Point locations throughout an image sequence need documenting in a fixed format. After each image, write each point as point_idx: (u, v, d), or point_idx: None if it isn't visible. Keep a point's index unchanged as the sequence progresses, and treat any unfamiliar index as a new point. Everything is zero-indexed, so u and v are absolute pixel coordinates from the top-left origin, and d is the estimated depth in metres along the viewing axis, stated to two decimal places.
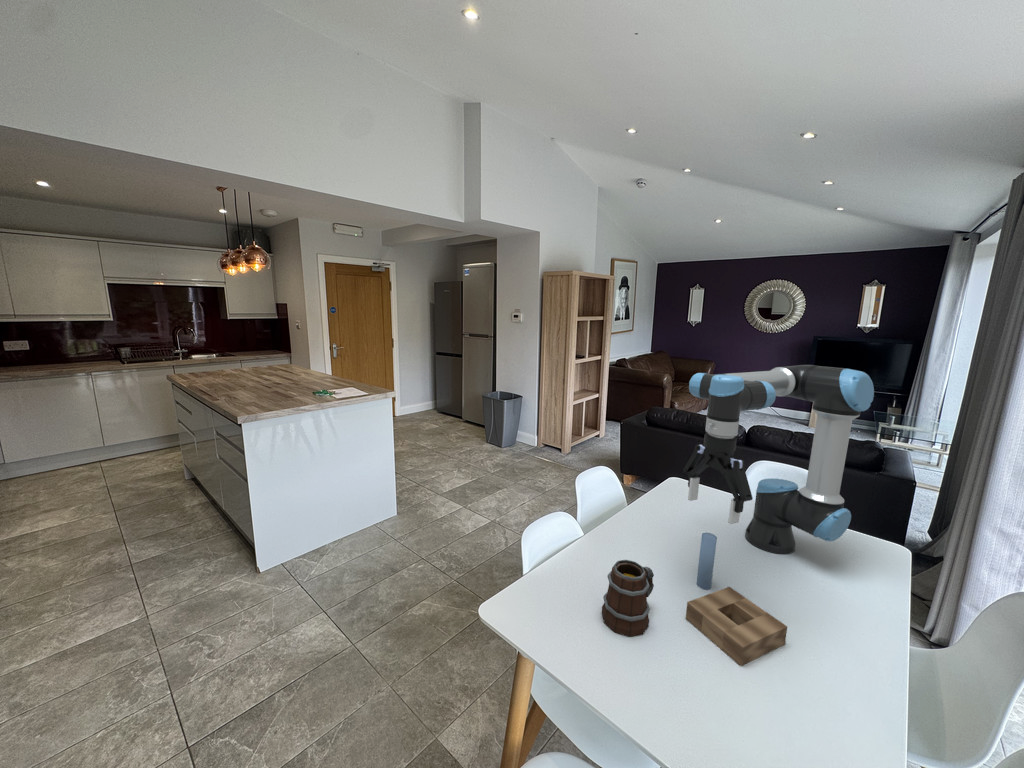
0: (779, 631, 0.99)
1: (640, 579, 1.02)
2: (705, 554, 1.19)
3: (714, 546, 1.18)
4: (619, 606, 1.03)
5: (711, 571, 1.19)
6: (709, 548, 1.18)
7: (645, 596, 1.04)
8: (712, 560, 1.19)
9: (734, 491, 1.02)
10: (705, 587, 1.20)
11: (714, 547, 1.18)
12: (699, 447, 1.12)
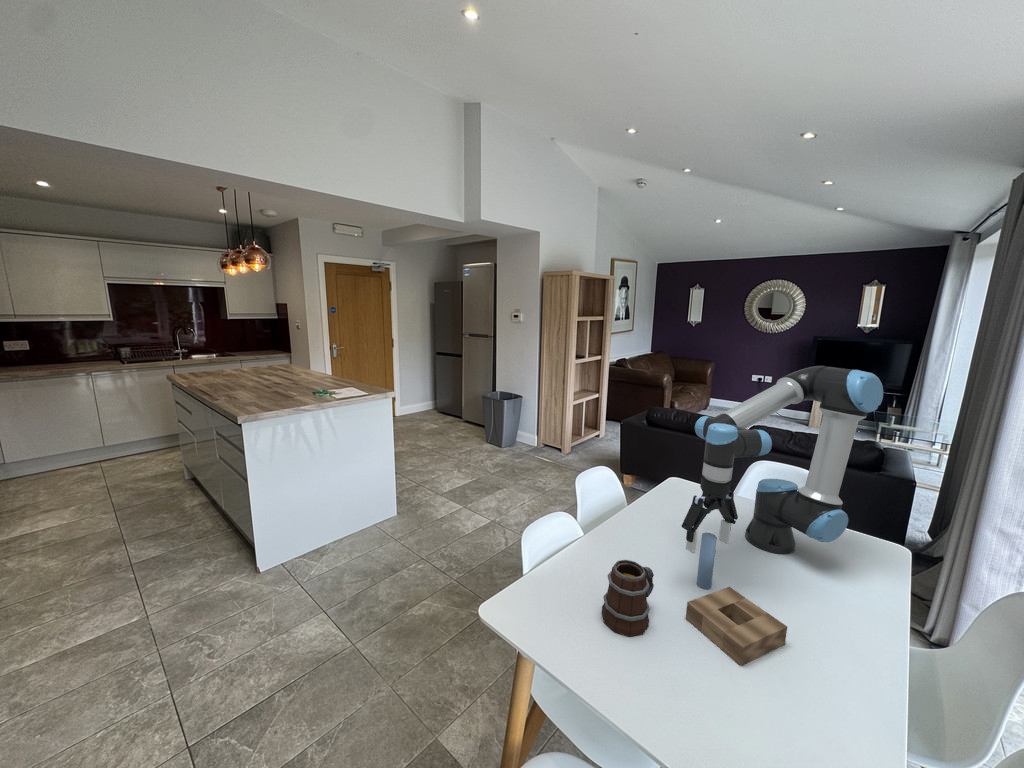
0: (779, 631, 0.99)
1: (640, 579, 1.02)
2: (705, 554, 1.19)
3: (714, 546, 1.18)
4: (619, 606, 1.03)
5: (711, 571, 1.19)
6: (709, 548, 1.18)
7: (645, 596, 1.04)
8: (712, 560, 1.19)
9: None
10: (705, 587, 1.20)
11: (714, 547, 1.18)
12: None
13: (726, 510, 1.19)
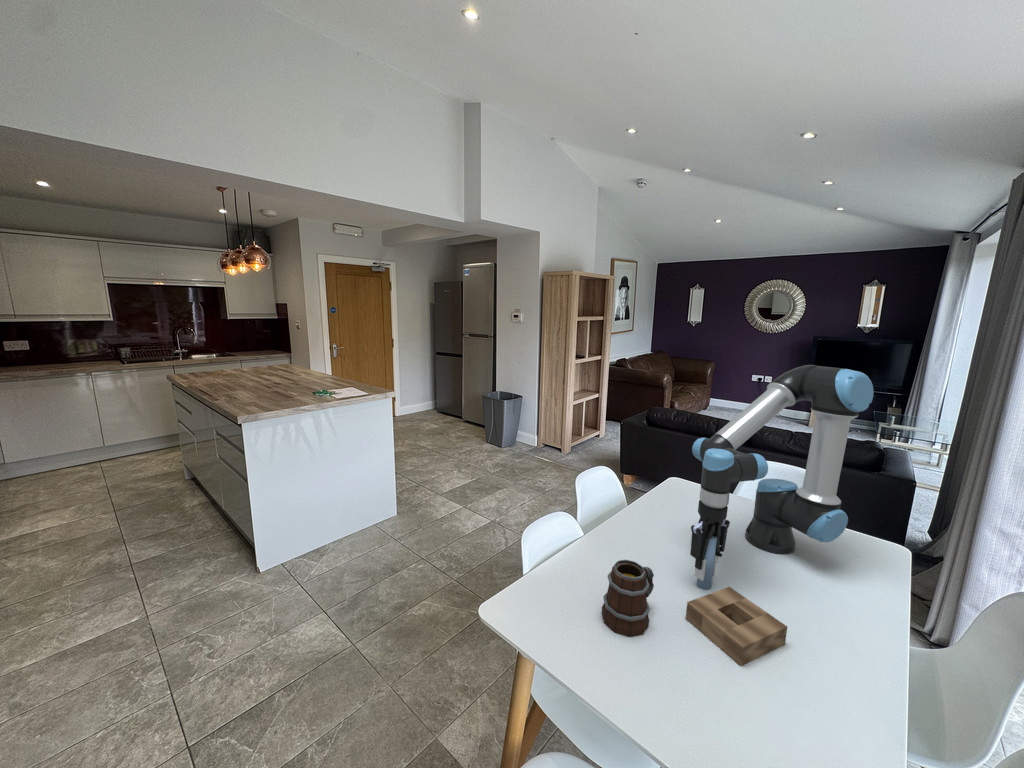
0: (779, 631, 0.99)
1: (640, 579, 1.02)
2: (705, 554, 1.19)
3: (714, 546, 1.18)
4: (619, 606, 1.03)
5: (711, 571, 1.19)
6: (709, 548, 1.18)
7: (645, 596, 1.04)
8: (712, 560, 1.19)
9: None
10: (705, 587, 1.20)
11: (714, 547, 1.18)
12: None
13: (718, 539, 1.19)
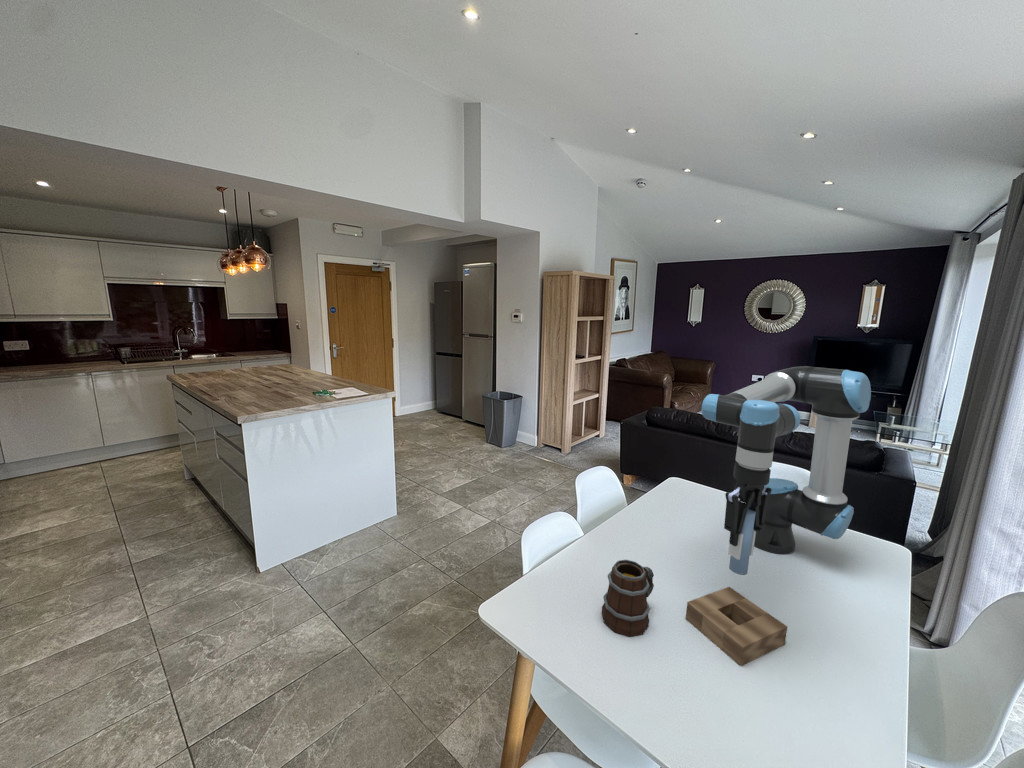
0: (779, 631, 0.99)
1: (640, 579, 1.02)
2: (741, 532, 0.99)
3: (752, 522, 0.98)
4: (619, 606, 1.03)
5: (748, 552, 1.00)
6: (746, 525, 0.98)
7: (645, 596, 1.04)
8: (750, 539, 0.99)
9: None
10: (740, 572, 1.00)
11: (752, 523, 0.98)
12: None
13: (757, 509, 0.99)
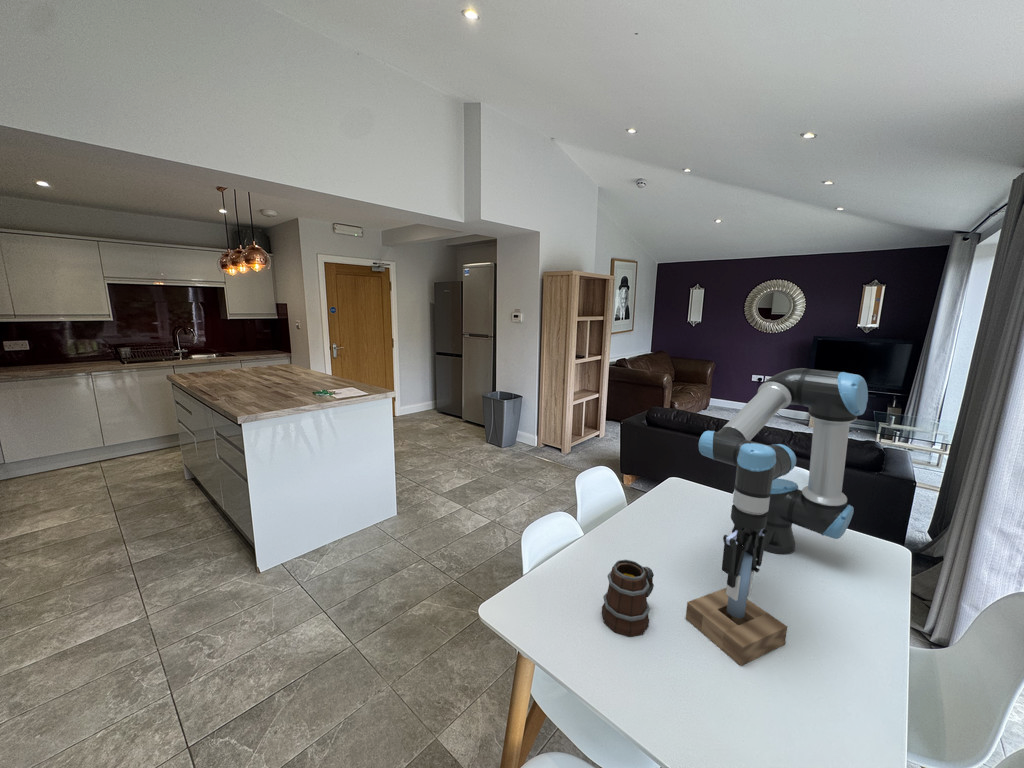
0: (779, 631, 0.99)
1: (640, 579, 1.02)
2: None
3: (749, 567, 0.99)
4: (619, 606, 1.03)
5: (745, 596, 1.01)
6: (743, 570, 0.99)
7: (645, 596, 1.04)
8: (747, 584, 1.00)
9: None
10: (738, 615, 1.01)
11: (749, 568, 1.00)
12: None
13: (755, 551, 1.00)
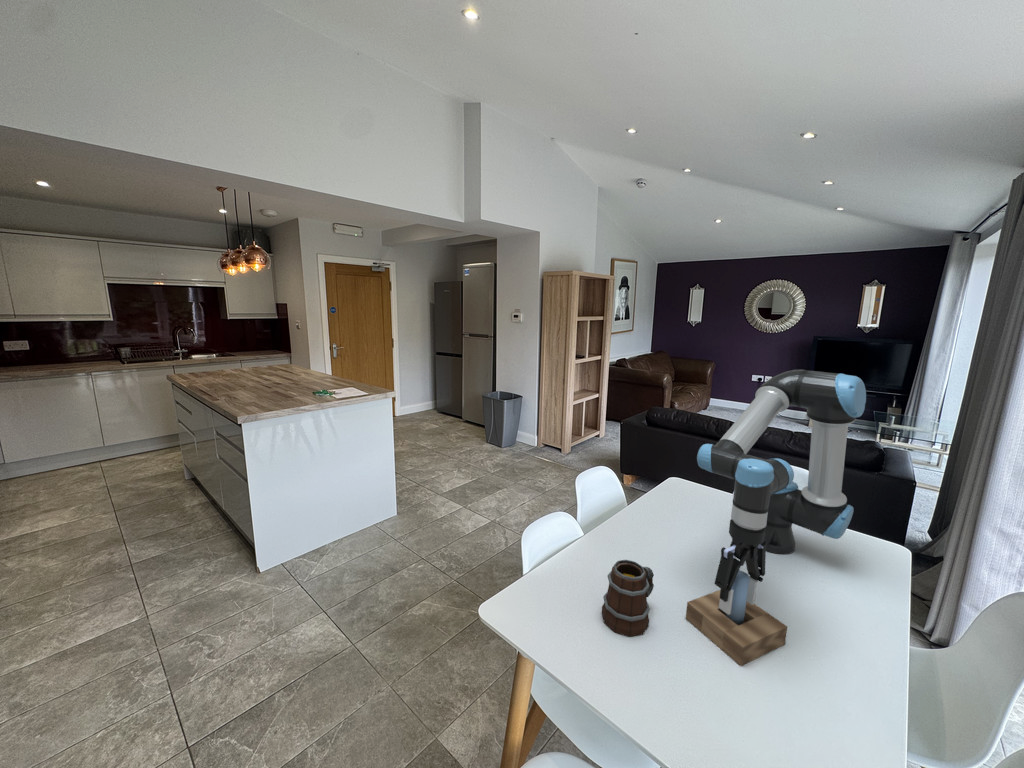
0: (779, 631, 0.99)
1: (640, 579, 1.02)
2: (735, 596, 1.01)
3: (746, 587, 1.00)
4: (619, 606, 1.03)
5: (742, 616, 1.02)
6: (740, 590, 1.00)
7: (645, 596, 1.04)
8: (744, 603, 1.01)
9: None
10: None
11: (746, 588, 1.00)
12: None
13: (756, 563, 1.01)
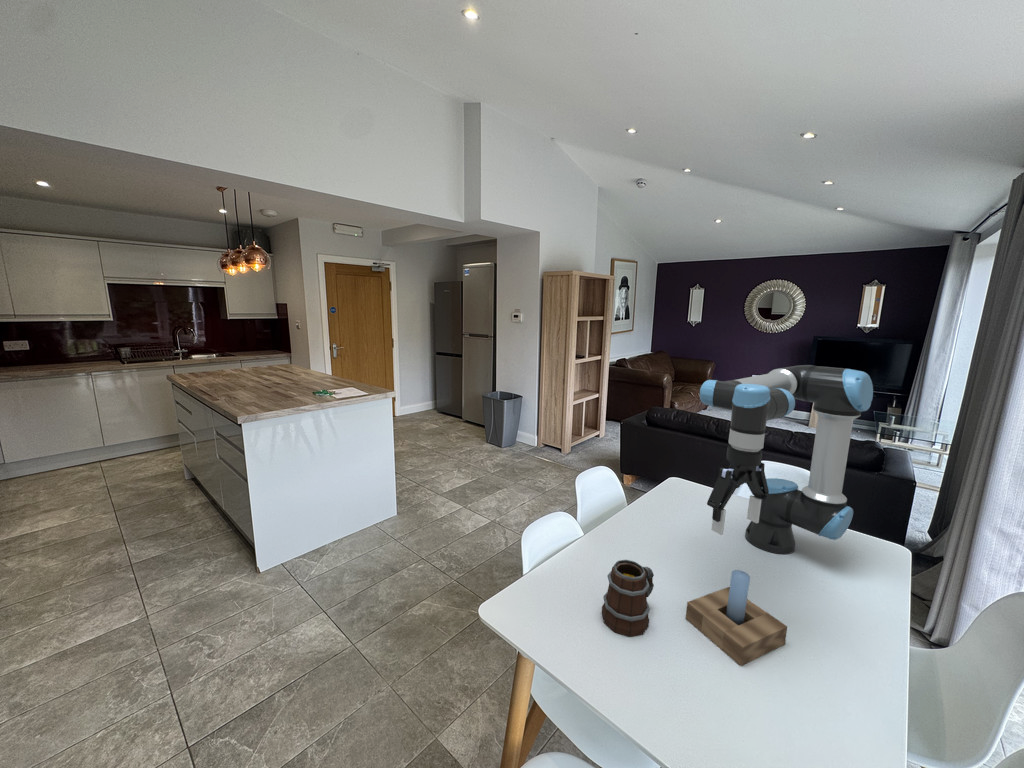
0: (779, 631, 0.99)
1: (640, 579, 1.02)
2: (736, 596, 1.01)
3: (747, 587, 1.00)
4: (619, 606, 1.03)
5: (743, 616, 1.02)
6: (741, 590, 1.00)
7: (645, 596, 1.04)
8: (744, 603, 1.01)
9: None
10: None
11: (747, 588, 1.00)
12: None
13: (756, 484, 1.03)
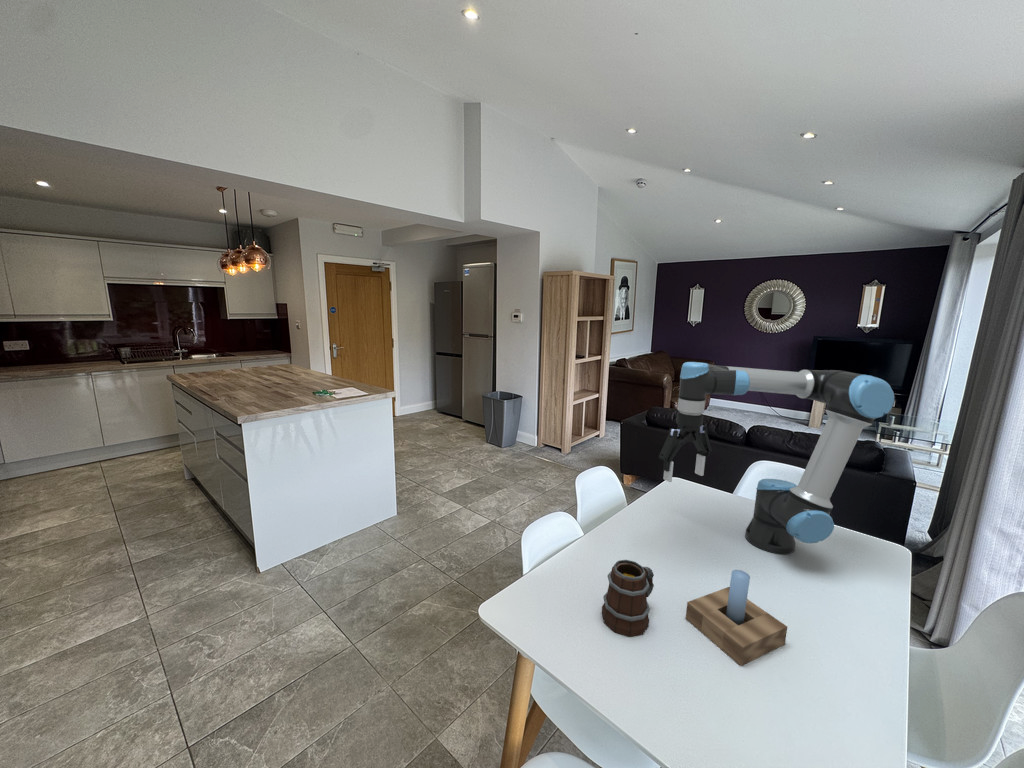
0: (779, 631, 0.99)
1: (640, 579, 1.02)
2: (735, 596, 1.01)
3: (747, 587, 1.00)
4: (619, 606, 1.03)
5: (743, 616, 1.02)
6: (741, 590, 1.00)
7: (645, 596, 1.04)
8: (744, 603, 1.01)
9: None
10: None
11: (747, 588, 1.00)
12: None
13: (700, 443, 1.28)
